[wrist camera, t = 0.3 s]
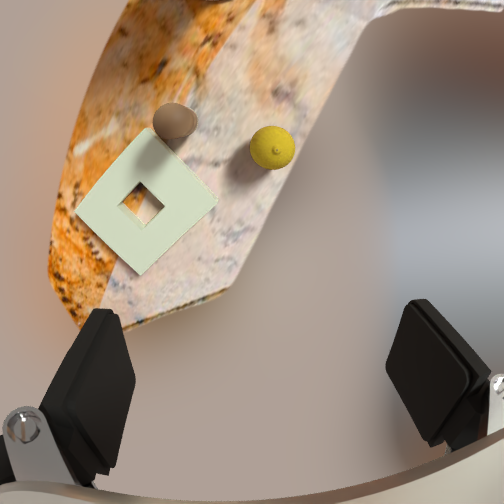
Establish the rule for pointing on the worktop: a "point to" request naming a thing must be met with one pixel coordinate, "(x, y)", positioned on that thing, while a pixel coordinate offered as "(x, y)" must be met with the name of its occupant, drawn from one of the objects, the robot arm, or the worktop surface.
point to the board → (161, 186)
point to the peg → (174, 121)
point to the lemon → (272, 147)
